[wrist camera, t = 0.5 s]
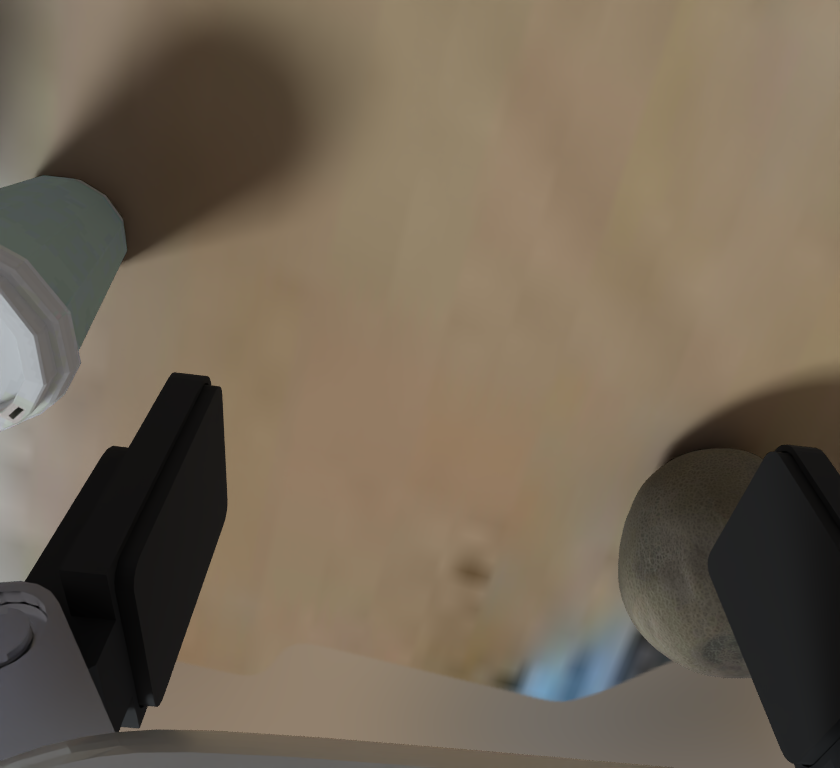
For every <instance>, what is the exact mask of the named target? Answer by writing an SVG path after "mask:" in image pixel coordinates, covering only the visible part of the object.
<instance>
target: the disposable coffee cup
mask: <svg viewBox="0 0 840 768" xmlns="http://www.w3.org/2000/svg"><path fill="white" fill-rule="evenodd" d="M126 252H127V245H126V237H125V230H124V223H123V219H122V217H121V216H120V214H119V213H118V212H117V210H116V209H115V207H114V206H113V205H112V203H111V202H110V200H109V199H108V198H107V196H106V195H105V194H103V193H101V192H100V191H98V190H96V189H95V188H93V187H91V186H90V185H88V184H86V183H85V182H83V181H81V180H79V179H74V178H64V177H55V176H45V175H43V176H39V177H36V178H33V179H29V180H26V181H23V182H19V183H16V184H13V185H10V186H6V187H3V188H0V432H1V431H3V430H5V429H8V428H10V427H13V426H15V425H18V424H20V423H21V422H23V421H25V420H28V419H30V418H33V417H35V416H37V415H40V414H42V413H43V412H44V411H45V410H46V409H47V408H49V407H50V406H52V405H53V404H54V403H55V402H56V401H58V400H59V399H60V398H61V397H62V396H63V395H64V394H65V393H66V391H67V389H68V387H69V385H70V383H71V381H72V380H73V378H74V376H75V374H76V372H77V370H78V368H79V366H80V364H81V360H80V356H79V349H80V347H81V345H82V343H83V341H84V339H85V337H86V335H87V333H88V330H89V328H90V326H91V324H92V322H93V320H94V318H95V316H96V314H97V312H98V310H99V308H100V306H101V304H102V302H103V299H104V297H105V295H106V293H107V291H108V289H109V287H110V285H111V283H112V281H113V279H114V277H115V275H116V273H117V271H118V268H119V266H120V264H121V262H122V260H123V258H124V256H125V254H126Z"/></svg>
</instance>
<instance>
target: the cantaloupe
mask: <svg viewBox="0 0 840 768" xmlns="http://www.w3.org/2000/svg"><path fill="white" fill-rule="evenodd" d="M762 461H763V459H762V458H760V457H758V456H757V455H755V454H752V453H750V452H747V451H743V450H738V449H731V448H712V449H704V450H698V451H692V452H689V453H687V454H684V455H681V456H679V457H677V458H675V459H673V460H671V461H670V462H668V463H667V464H665V465H664V466H662V467H661V468H660V469H658V470H657V471H656V472H655V473H654V474H652V475H651V476H650V477H649V478H648V479H647V480H646V482H645V483H644V484H643V485H642V487H641V488H640V490H639V491H638V493H637V495H636V497H635V499H634V501H633V504H632V507H631V509H630V511H629V514H628V516H627V518H626V521H625V525H624V529H623V533H622V537H621V542H620V550H619V561H618V579H619V588H620V592H621V596H622V600H623V602H624V605H625V608H626V610H627V612H628V614H629V616H630V618H631V620H632V622H633V623H634V625H635V626H636V628H637V629H638V630H639V632H640V633H641V634H642V635H643V636H644V637H645V638H646V640H647V641H648V642H649V643H650V644H651V645H652V646H653V647H655V648H656V649H657V650H658V651H660V652H661V653H662V654H664V655H665V656H666V657H668V658H669V659H671V660H672V661H674V662H675V663H677V664H679V665H681V666H683V667H685V668H687V669H689V670H692V671H695V672H697V673H701V674H704V675H708V676H715V677H721V678H751V675H750V673H749V670H748V668H747V666H746V663H745V661H744V658H743V656H742V653H741V651H740V648H739V646H738V644H737V641H736V639H735V636H734V634H733V631H732V629H731V626H730V624H729V622H728V619H727V617H726V614H725V612H724V609H723V607H722V605H721V602H720V600H719V597H718V595H717V592H716V590H715V587H714V585H713V583H712V580H711V578H710V575H709V572H708V557H709V554H710V552H711V550H712V548H713V546H714V545H715V543H716V541H717V539H718V538H719V536H720V534H721V532H722V531H723V529H724V527H725V525H726V524H727V522H728V520H729V518H730V517H731V515H732V513H733V511H734V510H735V508H736V506H737V504H738V503H739V501H740V499H741V497H742V496H743V494H744V492H745V490H746V489H747V487H748V485H749V483H750V482H751V480H752V478H753V476H754V475H755V473H756V471H757V469H758V468H759V466H760V464H761V463H762Z"/></svg>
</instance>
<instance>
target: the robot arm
mask: <svg viewBox="0 0 840 768" xmlns="http://www.w3.org/2000/svg"><path fill="white" fill-rule="evenodd" d="M226 512H227V482H226V462H225V441H224V421H223V401H222V390H221V387H219V386H211V381H210V378H209V377H208V376H201V375H193V374H184V373H176V372H174V373H172V374H171V375H170V377H169V378H168V380H167V382H166V383H165V385H164V387H163V389H162V390H161V392H160V394H159V396H158V397H157V399H156V401H155V403H154V404H153V406H152V408H151V410H150V411H149V413H148V415H147V417H146V418H145V420H144V422H143V423H142V425H141V427H140V429H139V430H138V432H137V434H136V436H135V437H134V439H133V441H132V443H131V444H130V446H129V448H127V447H118V446H112V447H110V448H108V449H107V450H106V451H105V453H104V454H103V455H102V457H101V458H100V460H99V462H98V463H97V465H96V466H95V468H94V470H93V471H92V473H91V475H90V476H89V478H88V480H87V481H86V483H85V484H84V486H83V488H82V489H81V491H80V493H79V494H78V496H77V497H76V499H75V501H74V502H73V504H72V506H71V507H70V509H69V510H68V512H67V514H66V515H65V517H64V519H63V520H62V522H61V523H60V525H59V527H58V528H57V530H56V532H55V533H54V535H53V536H52V538H51V540H50V541H49V543H48V545H47V546H46V548H45V549H44V551H43V553H42V554H41V556H40V558H39V559H38V561H37V563H36V564H35V566H34V567H33V569H32V571H31V572H30V574H29V576H28V577H27V579H26V580H25V582H23V581H14V582H1V583H0V768H672V767H661V766H650V765H638V764H627V763H615V762H605V761H593V760H581V759H570V758H558V757H547V756H535V755H524V754H513V753H502V752H501V753H500V752H490V751H478V750H466V749H454V748H441V747H429V746H417V745H404V744H393V743H381V742H369V741H357V740H345V739H333V738H320V737H305V736H289V735H274V734H258V733H243V732H228V731H207V730H204V731H203V730H144V731H128V732H119V730H120V727H129V728H140V725H141V723H142V720H143V717H144V715H145V712H146V709H147V706H155V707H158V706H159V705H160V703H161V701H162V699H163V696H164V694H165V691H166V688H167V685H168V683H169V680H170V677H171V674H172V671H173V668H174V665H175V662H176V660H177V657H178V654H179V651H180V648H181V645H182V642H183V639H184V637H185V634H186V631H187V628H188V625H189V622H190V619H191V616H192V614H193V611H194V608H195V605H196V602H197V599H198V596H199V593H200V591H201V588H202V585H203V582H204V579H205V576H206V573H207V570H208V568H209V565H210V562H211V559H212V556H213V553H214V550H215V547H216V545H217V542H218V539H219V536H220V533H221V530H222V527H223V524H224V521H225V517H226ZM708 572H709V575H710V578H711V580H712V583H713V585H714V587H715V590H716V592H717V595H718V597H719V600H720V602H721V605H722V607H723V609H724V612H725V614H726V617H727V619H728V622H729V624H730V626H731V629H732V631H733V634H734V636H735V639H736V641H737V644H738V646H739V648H740V651H741V653H742V656H743V658H744V661H745V663H746V666H747V668H748V670H749V673H750V675H751V678H752V680H753V683H754V685H755V687H756V690H757V692H758V695H759V697H760V700H761V702H762V704H763V707H764V710H765V712H766V714H767V717H768V719H769V722H770V724H771V727H772V729H773V731H774V734H775V736H776V739H777V741H778V744H779V746H780V749H781V751H782V752H783V755H784V756H785V758H786V759H787V760H788V761H789V762H791V763H793V764H794V765H795V768H840V475H839V473H838V472H837V470H836V469H835V468H834V466H833V465H832V463H831V462H830V461H829V459H828V458H827V456H826V455H825V454H824V453H823V452H822V451H821V450H819V449H817V448H811V447H802V446H794V445H781V446H780V447H778V448H777V449H776V450H775V452H769V453H768V454H767V455H766V456H765V457H764V459H763V461H762V463H761V464H760V466H759V468H758V469H757V471H756V473H755V475H754V476H753V478H752V480H751V482H750V483H749V485H748V487H747V489H746V490H745V492H744V494H743V496H742V497H741V499H740V501H739V503H738V504H737V506H736V508H735V510H734V511H733V513H732V515H731V517H730V518H729V520H728V522H727V524H726V525H725V527H724V529H723V531H722V532H721V534H720V536H719V538H718V539H717V541H716V543H715V545H714V546H713V548H712V550H711V552H710V554H709V557H708Z"/></svg>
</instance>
